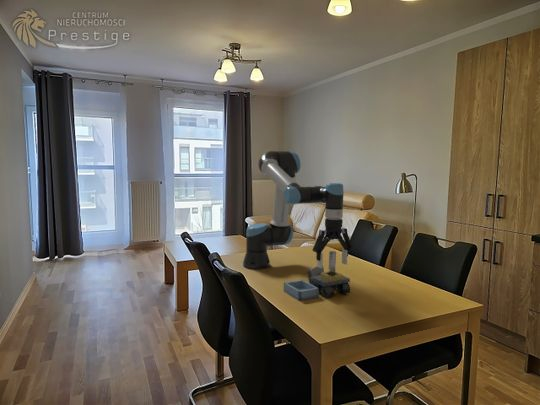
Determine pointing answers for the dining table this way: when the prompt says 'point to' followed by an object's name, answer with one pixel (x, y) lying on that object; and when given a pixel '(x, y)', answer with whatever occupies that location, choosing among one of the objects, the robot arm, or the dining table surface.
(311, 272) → the electrical switch
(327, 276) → the trolley
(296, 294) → the tray
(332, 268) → the pin
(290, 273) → the dining table surface
